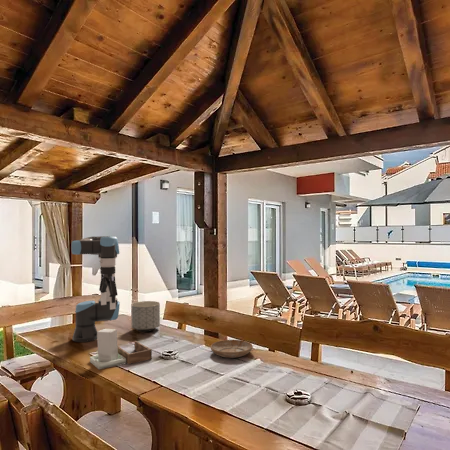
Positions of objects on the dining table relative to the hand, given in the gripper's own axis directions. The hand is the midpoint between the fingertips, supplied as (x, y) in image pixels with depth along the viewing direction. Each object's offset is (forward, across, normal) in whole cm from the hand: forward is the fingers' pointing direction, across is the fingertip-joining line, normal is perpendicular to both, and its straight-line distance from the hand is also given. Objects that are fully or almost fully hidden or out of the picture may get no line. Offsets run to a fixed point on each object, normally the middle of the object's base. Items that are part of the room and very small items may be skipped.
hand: (108, 307), depth 198 cm
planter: (+29, -45, +42) cm, 69 cm away
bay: (+29, 0, +13) cm, 32 cm away
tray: (+29, +1, 0) cm, 29 cm away
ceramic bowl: (+29, +30, +59) cm, 72 cm away
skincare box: (+28, 0, 0) cm, 28 cm away
